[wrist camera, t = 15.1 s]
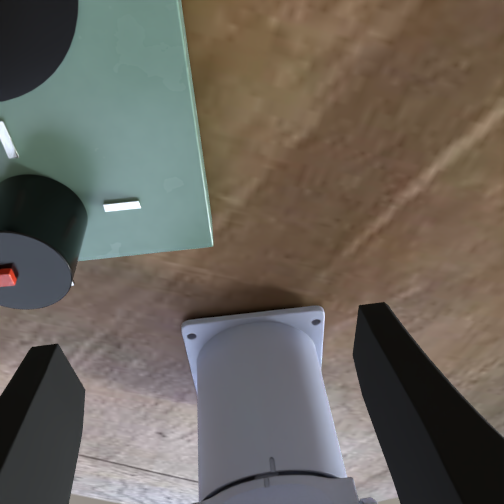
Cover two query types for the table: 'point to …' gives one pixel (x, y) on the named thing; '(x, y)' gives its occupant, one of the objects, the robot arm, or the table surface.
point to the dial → (38, 240)
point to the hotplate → (119, 131)
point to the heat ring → (33, 42)
